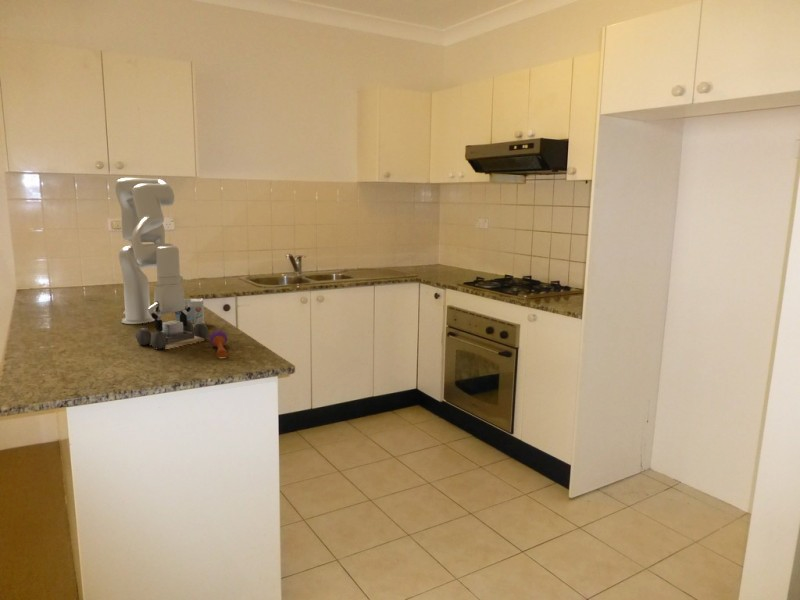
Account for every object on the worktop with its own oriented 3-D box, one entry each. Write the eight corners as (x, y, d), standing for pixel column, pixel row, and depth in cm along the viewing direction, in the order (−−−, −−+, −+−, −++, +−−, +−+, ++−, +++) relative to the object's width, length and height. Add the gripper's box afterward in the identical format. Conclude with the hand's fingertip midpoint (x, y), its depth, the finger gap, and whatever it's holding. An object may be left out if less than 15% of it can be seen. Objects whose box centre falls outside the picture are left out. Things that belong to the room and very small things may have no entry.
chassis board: (135, 343, 204) (134, 327, 203) (182, 334, 219) (181, 318, 218) (161, 351, 195) (160, 333, 193) (208, 340, 210) (208, 324, 209)
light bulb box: (175, 328, 228) (173, 301, 227) (177, 324, 235) (175, 298, 233) (203, 327, 231) (202, 300, 229) (204, 323, 238) (203, 298, 236)
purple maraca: (210, 348, 184) (207, 330, 202) (215, 365, 186) (211, 346, 204) (229, 343, 186) (224, 326, 204) (233, 360, 188) (228, 341, 206)
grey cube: (160, 339, 206) (159, 322, 205) (174, 336, 210) (173, 320, 209) (170, 341, 203) (169, 324, 202) (183, 338, 207) (182, 322, 206)
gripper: (184, 277, 212) (186, 322, 215) (140, 282, 198) (143, 330, 201) (196, 279, 208) (198, 325, 211) (152, 284, 194) (155, 334, 197)
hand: (171, 328), depth 206 cm, fingers open, 9 cm apart
